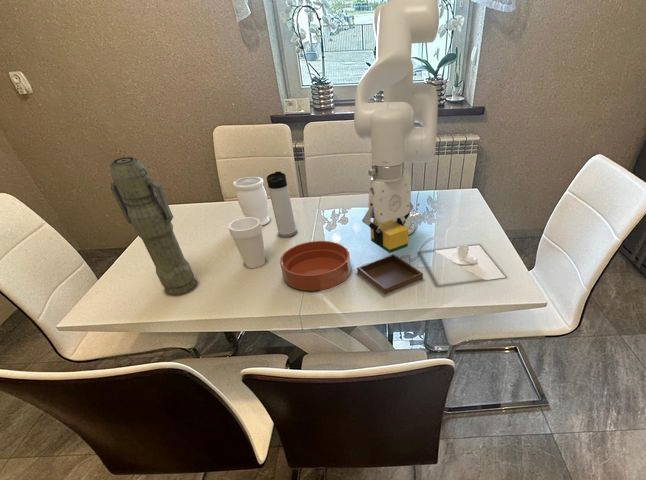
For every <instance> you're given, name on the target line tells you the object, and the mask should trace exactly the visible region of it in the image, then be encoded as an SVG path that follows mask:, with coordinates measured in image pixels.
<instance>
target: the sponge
mask: <svg viewBox="0 0 646 480" xmlns="http://www.w3.org/2000/svg"><path fill="white" fill-rule="evenodd" d="M377 224H378V223H377ZM369 229H370V241H371V242H372V243H373V244H375V245H377V244H376V243H375V242H374V232H373V229H371V228H370V227H369ZM381 232H382V233H383V246H381V247H380V246H379V245H377V246H378V247H380V248H381V249H383V250H384V251H386V252H387V253H389V254H391V253H392V254H393V253H395V252H397V251H400V250H402V249H406V248H408V247H409V235H408V228H406V227H404V226H402V225H400V224H399V223H397V222H395V221H393V220H391V221H388V222H384V223H383V225H382V228H381Z"/></svg>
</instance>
